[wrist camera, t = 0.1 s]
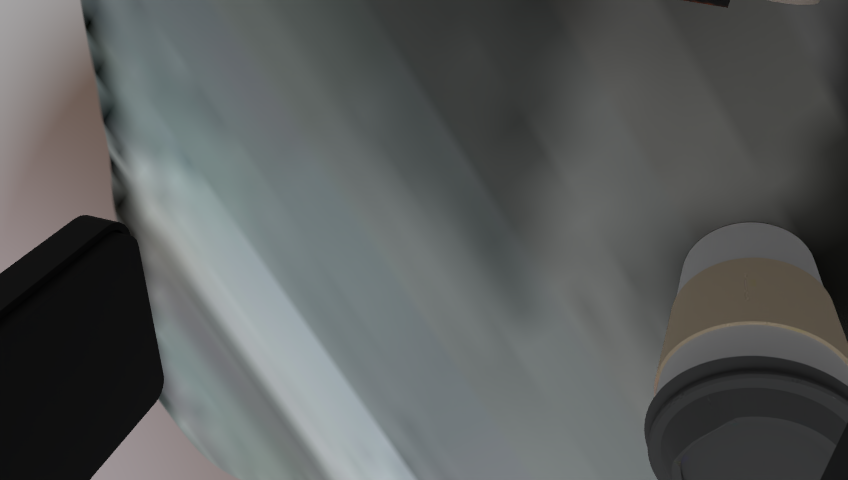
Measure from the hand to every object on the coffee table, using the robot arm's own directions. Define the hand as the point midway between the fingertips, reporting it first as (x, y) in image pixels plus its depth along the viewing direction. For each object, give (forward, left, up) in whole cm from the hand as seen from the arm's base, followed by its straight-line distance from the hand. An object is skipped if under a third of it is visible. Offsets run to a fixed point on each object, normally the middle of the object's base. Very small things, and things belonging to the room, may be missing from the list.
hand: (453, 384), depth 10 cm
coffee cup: (+17, +9, -31) cm, 37 cm away
